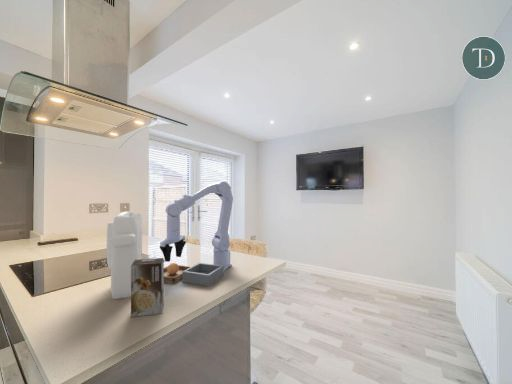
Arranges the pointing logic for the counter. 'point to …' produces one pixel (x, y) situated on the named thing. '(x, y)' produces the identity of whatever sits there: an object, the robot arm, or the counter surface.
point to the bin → (202, 274)
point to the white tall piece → (123, 251)
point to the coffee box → (147, 287)
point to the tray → (174, 275)
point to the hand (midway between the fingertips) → (173, 258)
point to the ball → (172, 268)
